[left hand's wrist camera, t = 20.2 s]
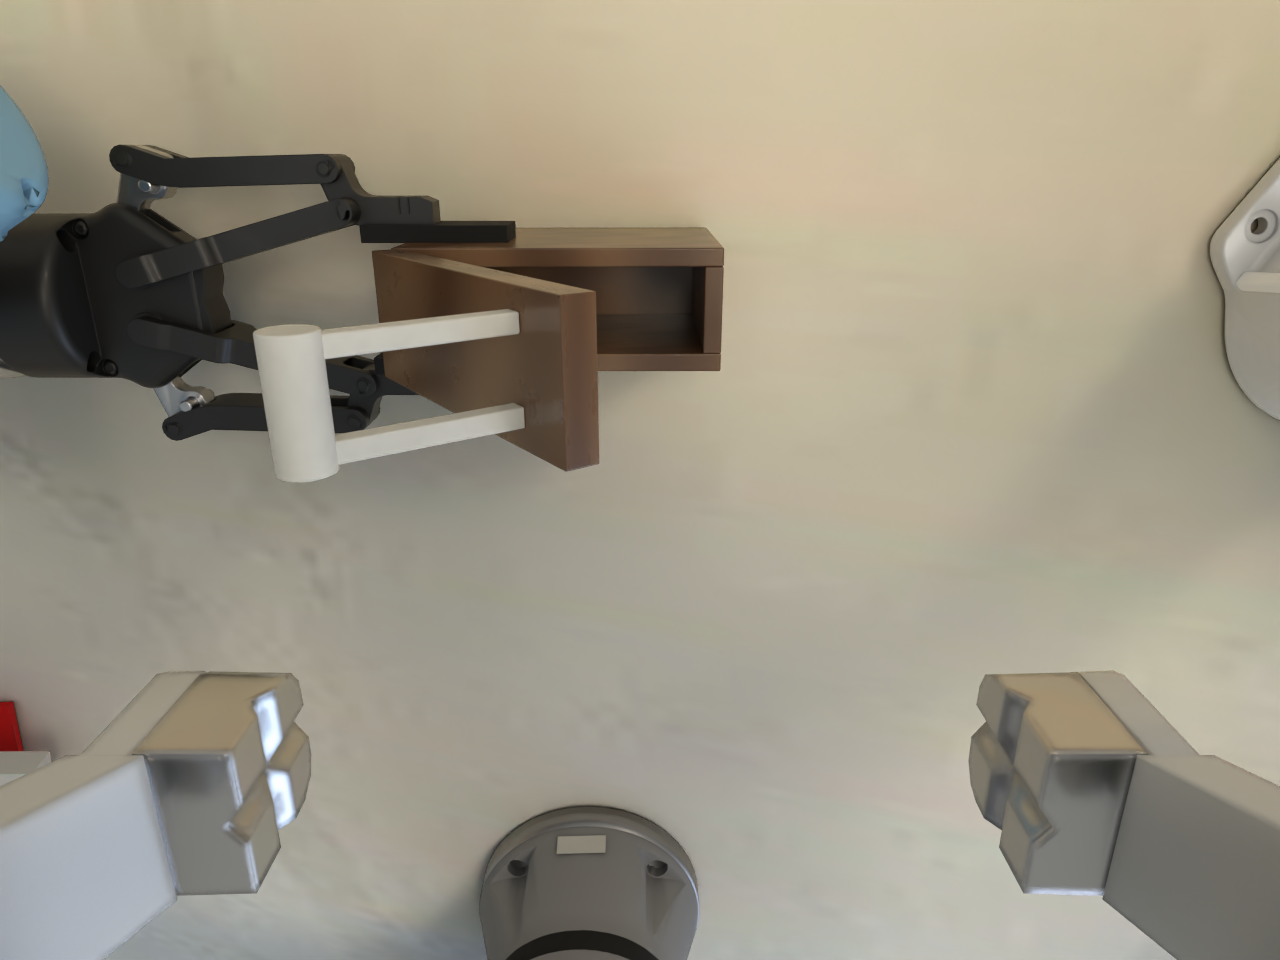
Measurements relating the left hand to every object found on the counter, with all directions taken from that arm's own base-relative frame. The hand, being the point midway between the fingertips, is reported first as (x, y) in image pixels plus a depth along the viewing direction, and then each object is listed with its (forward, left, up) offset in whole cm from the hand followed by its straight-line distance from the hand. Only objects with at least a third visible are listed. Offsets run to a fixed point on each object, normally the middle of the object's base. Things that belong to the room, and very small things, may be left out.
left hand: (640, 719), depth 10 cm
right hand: (+2, -5, -32) cm, 33 cm away
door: (+2, -5, -22) cm, 23 cm away
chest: (+1, -3, -39) cm, 40 cm away
